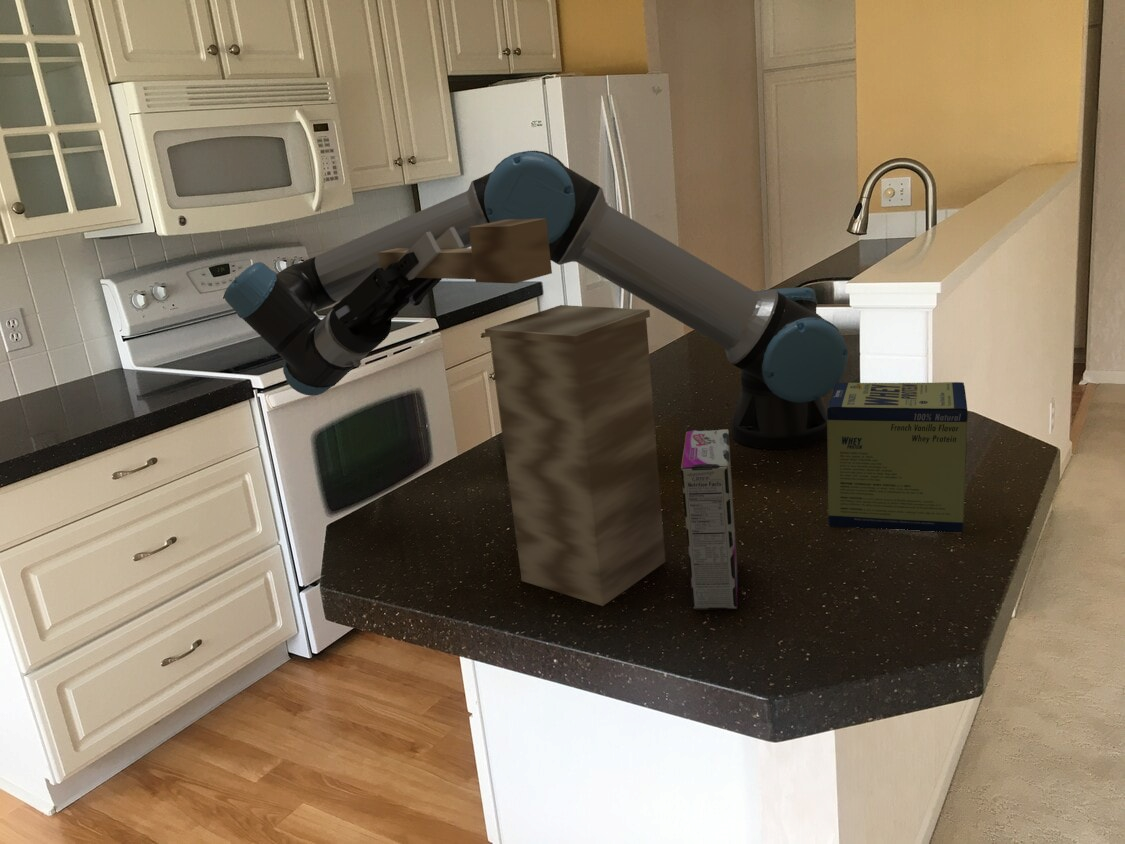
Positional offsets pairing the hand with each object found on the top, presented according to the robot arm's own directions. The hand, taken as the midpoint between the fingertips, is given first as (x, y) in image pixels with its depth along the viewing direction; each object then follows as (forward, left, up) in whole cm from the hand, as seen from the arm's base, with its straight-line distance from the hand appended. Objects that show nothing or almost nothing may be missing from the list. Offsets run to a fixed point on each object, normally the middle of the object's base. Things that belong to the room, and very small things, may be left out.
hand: (445, 239), depth 108 cm
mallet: (-1, +1, -4) cm, 4 cm away
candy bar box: (-29, +13, -39) cm, 50 cm away
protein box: (-51, -5, -39) cm, 64 cm away
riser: (-15, +9, -39) cm, 42 cm away
